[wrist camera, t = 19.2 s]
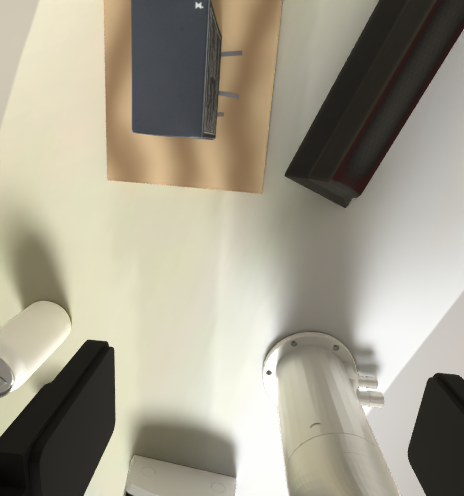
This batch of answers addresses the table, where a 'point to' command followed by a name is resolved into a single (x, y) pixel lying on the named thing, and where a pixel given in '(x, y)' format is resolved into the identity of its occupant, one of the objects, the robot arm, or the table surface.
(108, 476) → the table surface
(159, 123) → the small box
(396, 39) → the barrier
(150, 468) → the white arched block
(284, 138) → the table surface
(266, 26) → the board
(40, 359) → the can
